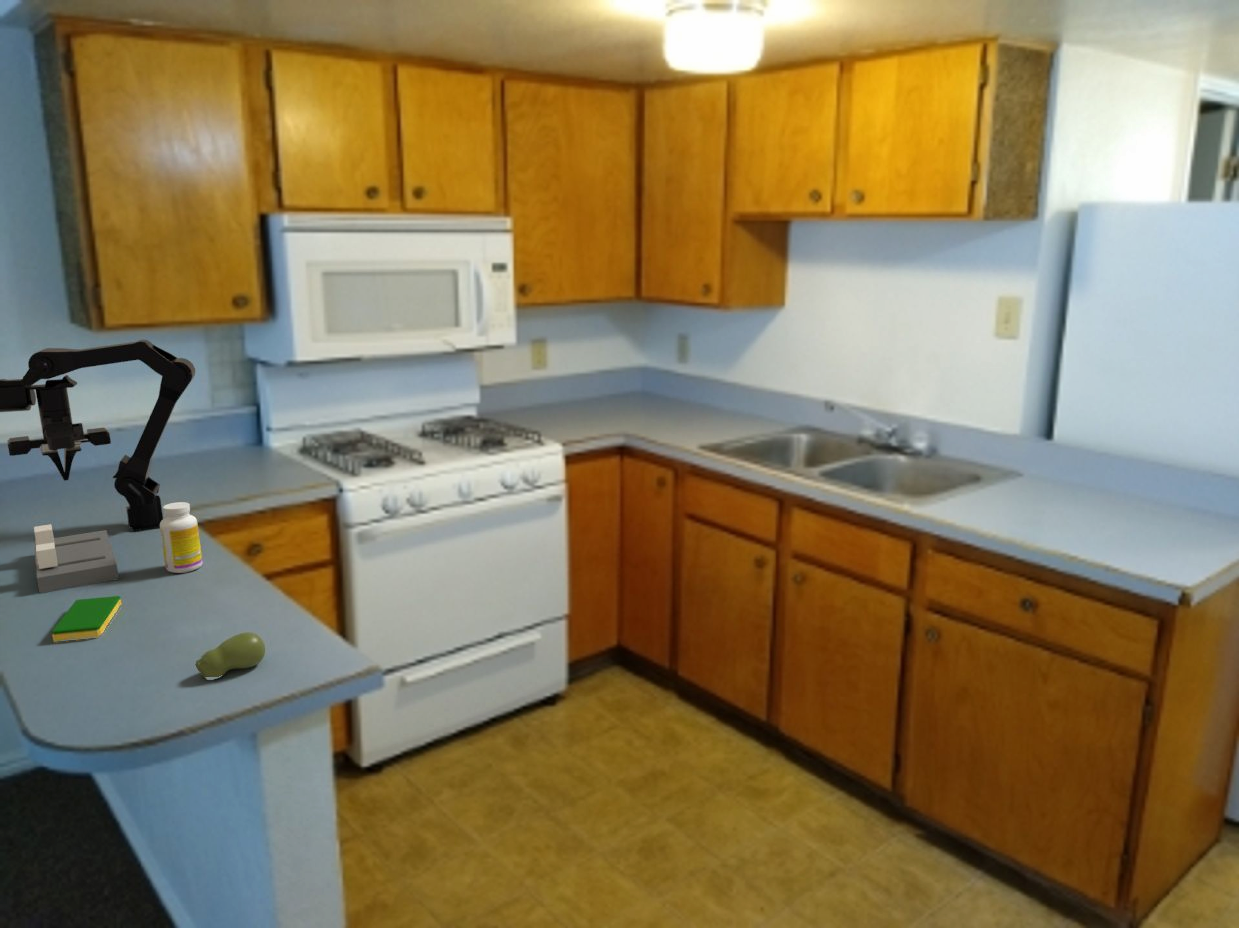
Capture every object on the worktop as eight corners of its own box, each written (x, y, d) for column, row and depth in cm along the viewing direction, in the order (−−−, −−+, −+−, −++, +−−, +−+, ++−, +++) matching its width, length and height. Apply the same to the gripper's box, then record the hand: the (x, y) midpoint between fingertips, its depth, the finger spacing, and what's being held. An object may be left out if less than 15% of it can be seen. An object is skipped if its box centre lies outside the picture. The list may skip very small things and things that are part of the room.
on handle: (56, 559, 181) (54, 542, 180) (57, 565, 178) (54, 548, 177) (38, 562, 180) (35, 545, 179) (39, 569, 176) (36, 551, 176)
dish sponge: (53, 645, 154) (50, 631, 153) (78, 611, 167) (76, 599, 166) (101, 640, 156) (99, 626, 155) (122, 607, 169) (120, 595, 168)
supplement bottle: (210, 565, 188) (202, 502, 185) (182, 576, 182) (174, 512, 179) (186, 560, 191) (178, 498, 187) (158, 571, 185) (149, 508, 181)
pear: (264, 634, 143) (197, 663, 138) (274, 664, 145) (207, 693, 140) (253, 622, 148) (187, 649, 142) (262, 651, 149) (197, 679, 144)
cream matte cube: (54, 540, 192) (51, 524, 191) (54, 546, 189) (52, 529, 188) (36, 543, 190) (34, 526, 190) (37, 549, 187) (34, 532, 186)
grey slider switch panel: (108, 543, 201) (106, 529, 200) (118, 578, 181) (116, 563, 180) (36, 555, 194) (34, 540, 193) (39, 593, 174) (36, 577, 173)
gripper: (3, 420, 189) (16, 496, 193) (108, 410, 199) (118, 481, 203) (2, 411, 198) (14, 483, 202) (102, 401, 208) (112, 470, 212)
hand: (66, 480), depth 205 cm, fingers closed
